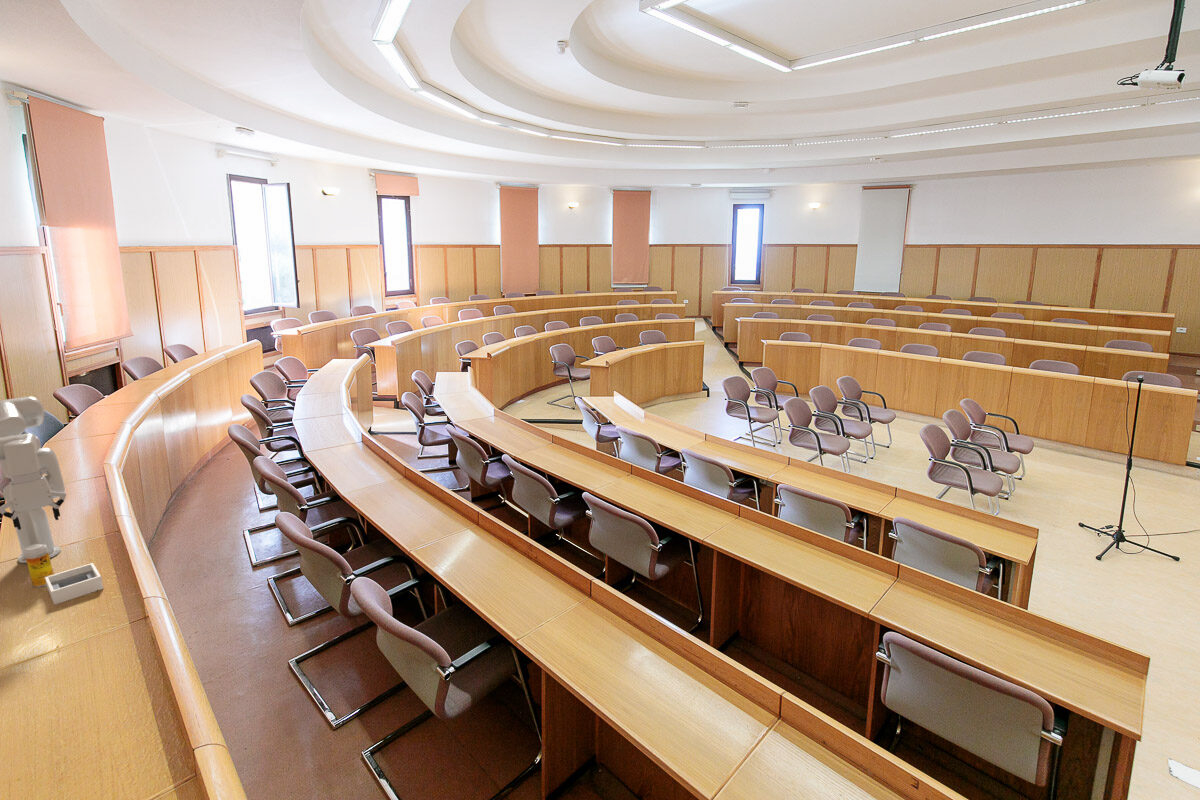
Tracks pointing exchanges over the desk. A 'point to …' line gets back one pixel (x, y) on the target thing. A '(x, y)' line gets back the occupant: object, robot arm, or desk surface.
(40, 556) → the beer can
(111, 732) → the desk surface
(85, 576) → the socket box
